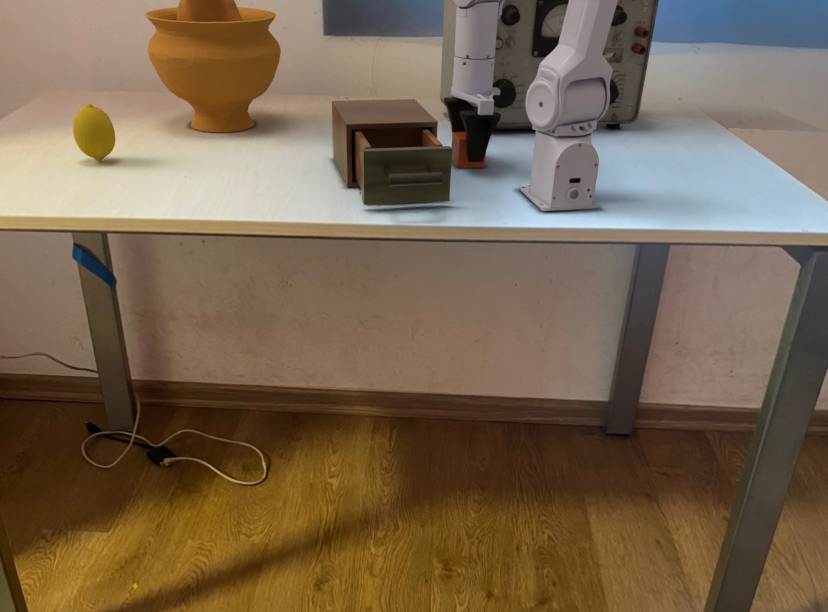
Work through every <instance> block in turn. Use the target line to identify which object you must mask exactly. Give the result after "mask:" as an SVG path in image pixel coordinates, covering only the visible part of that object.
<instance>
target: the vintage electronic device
mask: <svg viewBox="0 0 828 612" xmlns="http://www.w3.org/2000/svg"><path fill="white" fill-rule="evenodd" d="M659 1H660V0H618V2H617V5H616V9H615V12H614V16H613V19H612V23H611V26H610V30H609V33H608V36H607V40H606V43H605V47H604V50H603V54H602V55H603V56H604V58H605V59H606V61H607V62H608V63H609V65H610V66H611V67H612V69H613V72H612V76H611V79H610V102H609V106H608V109H607V111H606V113H605V115H604V116H603V117H602V118H601V119H600V120H598V121H597V125H605V127H606V129H607V130H612V131H615V130H620V128H621V125H623V124H624V125H625V124H626V125H627V124H633V123H635V122H636V121H637V120H638V118H639V115H640V110H641V104H642V98H643V93H644V87H645V81H646V77H647V69H648V63H649V59H650V54H651V47H652V42H653V37H654V36H653V35H654V30H655V25H656V19H657V13H658V7H659V3H660V2H659ZM568 3H569V0H505V1H504V3H503V6H502V15H500V19H498V22H497V35H496V48H495V62H494V75H493V87H495V88H498V89H500V95H494V96H493V100H494V109H493V112H498V113H499V114H501V118H500V121H499V122H498V124H497V125H496V127H527V126H530V127H532V124H531V122H530V120H529V118H528V116H527V112H526V95H527V91H528V89H529V87H530V85H531V84H532V82H533V81H534V79H535V78H536V75H537V72H538V69H539V65H540V63H541V62H542V61H543V60H544V59H545V58H546V57H547V56H548V55H549V54H550V53H551V52H552V51H553V50H554V49H555V48H556V47H557V46H558V43H559V39H560V35H561V31H562V27H563V23H564V19H565V15H566V11H567V7H568ZM456 12H457V5H456V4H455V3H454V1H453V0H444V1H443V21H442V23H443V24H442V45H441V47H442V48H441V69H440V70H441V71H440V92H439V93H440V94H439V98H440V102H441V103H442V104H443V105H444V107H446V105H445V103H444V98H447V97H453V96H452V95H451V88H452V85H453V72H454V52H455V33H456Z"/></svg>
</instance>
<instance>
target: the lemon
mask: <svg viewBox="0 0 828 612" xmlns="http://www.w3.org/2000/svg"><path fill="white" fill-rule="evenodd" d="M72 133H73V138H74V141H75V143H76V145H77V147H78V148H79V150H80V151H81V152H82V153H83V154H84V155H86V156H88V157H90V158H92V159H94V160H95V161H96V162H99V163H100V162H103V160H104V159H105V158H106V157H108V155H110V154H111V153H112V152H113V150H114V148H115V146H116V131H115V128H114V125H113V122H112V120H111V118H110V116H109V115H108V113H106V112H105V111H104V110H103V109H101V108H99V107H97V106H94V105H93V104H92V103H86V104H85V106H84V107H82V108H80V109H79V110H78V111H77V112H76V113H75V115H74V117H73V123H72Z"/></svg>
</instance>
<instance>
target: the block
mask: <svg viewBox="0 0 828 612" xmlns="http://www.w3.org/2000/svg"><path fill="white" fill-rule="evenodd" d="M450 147H451V148H452V162H451V163H453V165H454V166H455V167H456V168H457V169H475V168H486V159H487V158H486V157H487V152H486V153H485V157H484V159H483V162H469V161H468V157H467V147H466V134H465V132H452V131H451V146H450Z"/></svg>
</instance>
